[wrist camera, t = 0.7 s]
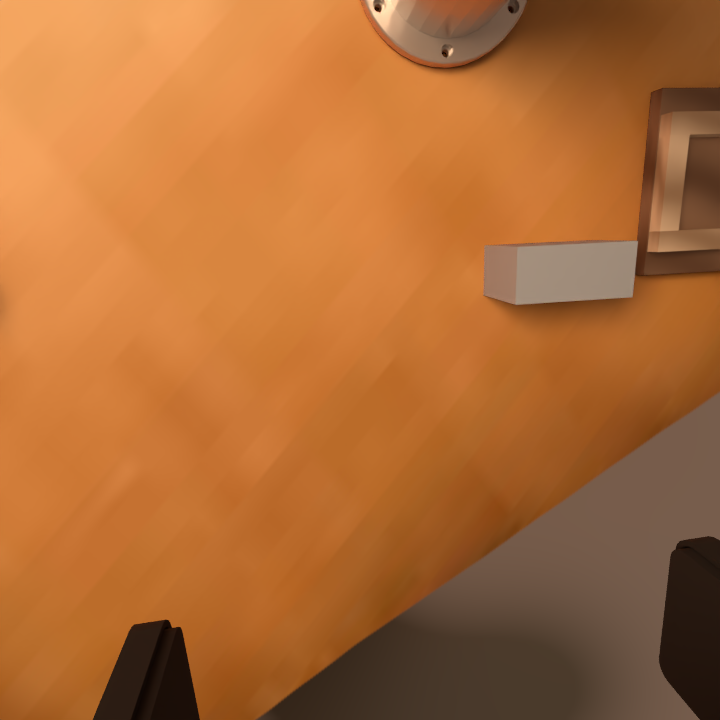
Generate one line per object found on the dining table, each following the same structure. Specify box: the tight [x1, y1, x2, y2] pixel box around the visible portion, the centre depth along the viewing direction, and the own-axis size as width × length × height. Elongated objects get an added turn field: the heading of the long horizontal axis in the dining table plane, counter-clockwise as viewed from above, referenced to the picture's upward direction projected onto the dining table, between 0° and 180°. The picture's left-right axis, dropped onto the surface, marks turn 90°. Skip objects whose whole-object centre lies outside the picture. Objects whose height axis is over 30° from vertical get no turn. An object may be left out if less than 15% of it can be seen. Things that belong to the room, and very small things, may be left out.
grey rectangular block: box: [484, 240, 638, 305], centre depth 37 cm, size 4×9×6 cm, turn 92°
